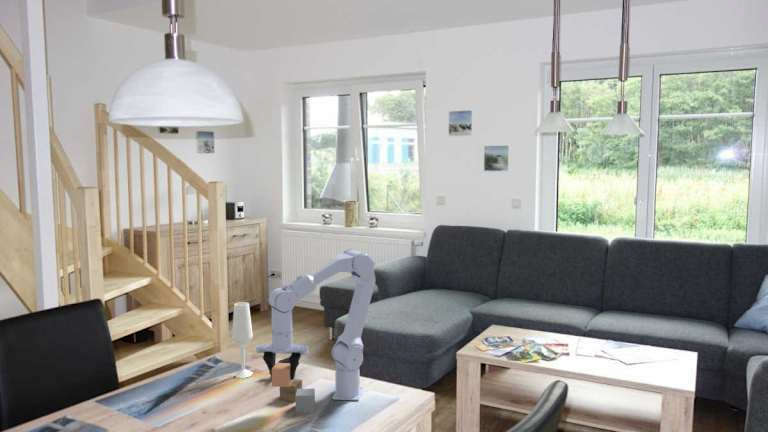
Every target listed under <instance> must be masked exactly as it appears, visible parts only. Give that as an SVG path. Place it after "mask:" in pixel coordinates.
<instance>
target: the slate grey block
mask: <svg viewBox="0 0 768 432" xmlns="http://www.w3.org/2000/svg"><path fill="white" fill-rule="evenodd" d="M315 393H316V389H315V388H302V389H297V392H296V396H295V400H296V402H295V413H314V410H315V406H316V398H315V397H316V396H315V395H316V394H315Z"/></svg>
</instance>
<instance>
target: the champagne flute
mask: <svg viewBox="0 0 768 432" xmlns="http://www.w3.org/2000/svg"><path fill="white" fill-rule="evenodd" d="M251 316H252V315H251V310H250V303H249V302H246V301H239V302H235V303H234V304H233V315H232V328H231V329H232V332H231V338H232V339H231V340H232V341H233V342H234V343H235V344H236V346H238V347H240V363H241V364H240V365H241V367H240V368H241V369H240V370H238V371H236V372H235V373H234V374H233V375H235V376H236V377H240V378H244V379H246V378H245V377H249V376H251V375H252V374H253V373H254V372H252V371H250V370H248V369H246V360H245V359H246V356H245V355H246V353H245V351H246V350H245V349H246V347H247V345H249V343H251V342H252V341H251V340H252V339H253V337H254V333H253V327H252V317H251ZM249 378H250V377H249Z"/></svg>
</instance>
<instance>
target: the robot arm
mask: <svg viewBox="0 0 768 432" xmlns="http://www.w3.org/2000/svg"><path fill="white" fill-rule="evenodd" d="M375 264H376V262H375V261H374V259H373V258H372V256H371V255H370V254H368V253H366V252H361V251H358V250H355V249H352V248H348V249H345V250H344V251H343V252H340V253H338V254H337V255H336V256H335V257H334V258H332V260H330V261H329V262H326V263H325V264H324V265H322V266H321V267H320V268H319V269H317V270H315V271H314V272H313V273H311V274H306V273H304V274H298V275H296V278H295V279H294V280H292V281H290V282H289V283H284V284H282V287H281V288H279V287H278V288H275V289H273V290H272V291H271V292H270V294H269V296H268V298H267V302H268V304H269V306H271V343H269V344H258V345H257V346H256V347H255V348H256V354H263V356H262V359H263V361H264V363H265V364H266V366H267V369H268V371H269V373H270V374H269V375H270V379H271V380H272V368H273V367H274V365H275V364H276V358H277V354H290V355H289V357H288V358H289V360H290V368H291V372H290V377H291V380H293V379H296V378H295V377H296V371H297V368H298V367H297V364H298V362H299V363H300V359H301V357H302V355H303V356H307V355H308V354H309V346H308V345H305V346H304V345H300V344H295V343H294V341H293V340H294V339H293V309H294V308H295V305H296V303H298V302H300V301H301V300H303V299H304V298H306V297H308V296H309V295H310V294H312V293H314V292H315V291H316V287H317V285H319V284H320V283H323V282H324V281H326V280H328V279H329V278H331V277H333V276H335V275H337V274H339V273H348V274H349V273H350V274H351V276H352V277H353V279H354V280H355V282H356V284H355V288H354V292H353V296H352V299H351V303H350V306H349V307H350V308H349V310H348V314H347V318H346V323H345V325H344V329H343V333H341V334H340V335H339V336H338V337H337V340H336V342H335V344H334V345H333V347H332V348H331V357H332V359H333V360H334V361H335V362H334V363H335V364H334V365H335V366H334V367H335V370H334V371H335V379H334V380H335V391H334V393H333V395H332V397H331V398H332V400H336V401H360V397H361V395H362V392H363V390H364V387H363V386H360V385H361V384H360V383H361V381H360V378H361V376H360V374H361V373H360V371H361V370H360V366H362V364H363V362H364V354H363V351H364V344H363V341H362V334H363V330H364V326H365V323H366V320H367V316H368V311H369V308H370V304H371V302H372V301H371V300H372V296H373V293H374V288H375V286H376V274H375Z"/></svg>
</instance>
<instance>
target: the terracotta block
mask: <svg viewBox="0 0 768 432" xmlns="http://www.w3.org/2000/svg"><path fill="white" fill-rule="evenodd" d="M290 372H291V368H290V363H278V362H275V365H274V367H273V368H272V379H271V387H279V388H280V387H290V385H291V384H292V382H293V381H294V379H295V378H294V379H293V380H291V377H290Z"/></svg>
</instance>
